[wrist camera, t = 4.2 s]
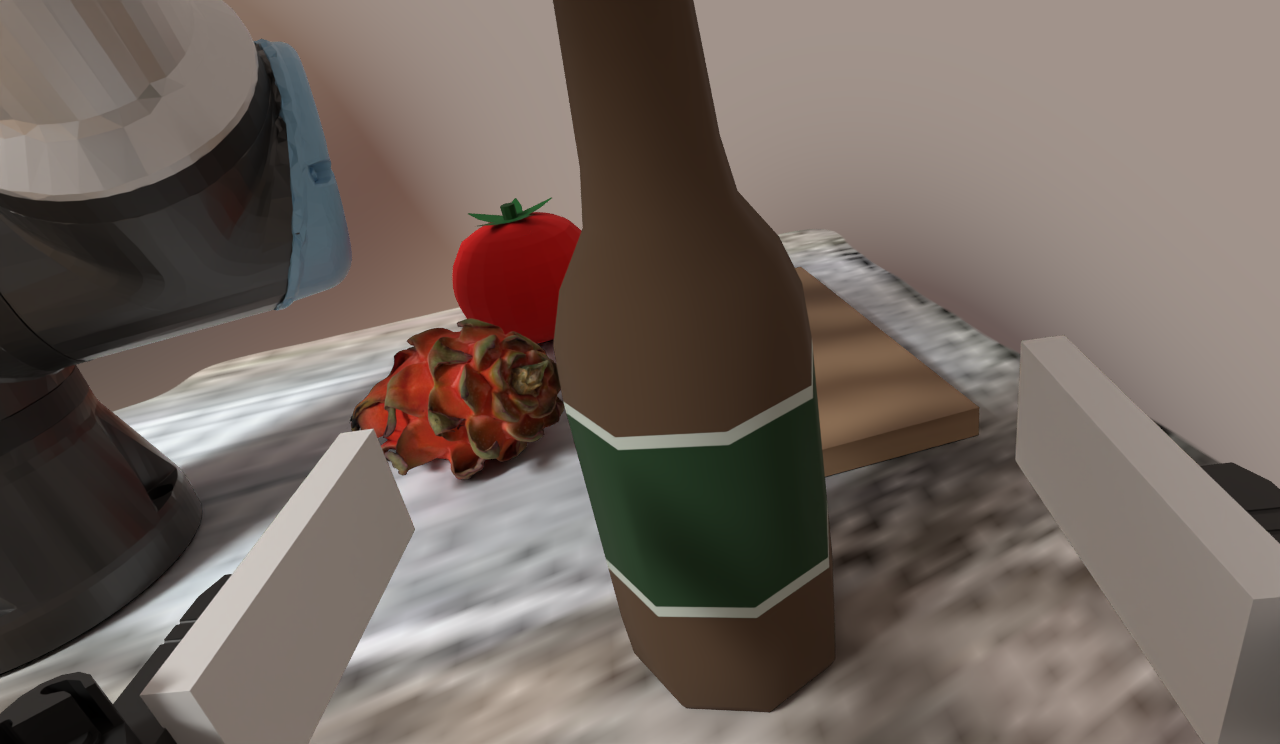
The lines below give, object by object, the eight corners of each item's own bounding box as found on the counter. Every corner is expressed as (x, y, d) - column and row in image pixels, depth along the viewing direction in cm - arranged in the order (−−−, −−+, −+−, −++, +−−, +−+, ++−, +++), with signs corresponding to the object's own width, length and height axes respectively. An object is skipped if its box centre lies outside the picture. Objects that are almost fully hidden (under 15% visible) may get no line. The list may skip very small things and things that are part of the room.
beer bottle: (797, 538, 31) (716, -144, 20) (887, 685, 24) (835, -227, 14) (616, 588, 31) (434, -87, 20) (655, 755, 24) (409, -145, 13)
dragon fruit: (603, 468, 41) (408, 526, 43) (578, 338, 45) (400, 396, 47) (545, 412, 34) (312, 485, 36) (522, 263, 38) (313, 335, 40)
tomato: (572, 371, 49) (534, 225, 45) (446, 368, 54) (399, 235, 49) (633, 305, 58) (606, 176, 53) (519, 307, 62) (485, 188, 57)
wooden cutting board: (978, 434, 35) (979, 407, 34) (691, 513, 34) (685, 486, 33) (802, 285, 55) (800, 266, 54) (616, 332, 54) (612, 313, 53)
